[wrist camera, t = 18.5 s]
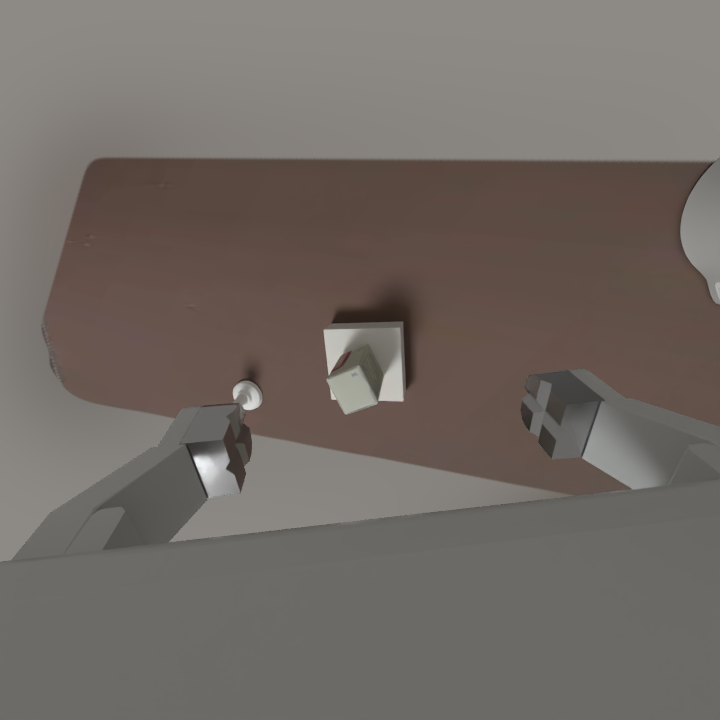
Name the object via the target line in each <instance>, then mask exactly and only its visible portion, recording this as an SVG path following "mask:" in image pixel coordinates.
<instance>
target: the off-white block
mask: <svg viewBox="0 0 720 720" xmlns="http://www.w3.org/2000/svg"><path fill="white" fill-rule="evenodd" d="M324 338H325V347H326V355H327V364H328V373H329V374H330V373H331V371H332V369H333V368H334V366H335V364H336V363H337V361H338V359H339V358H340V356H341V355H343V354H345V353H347V352H349V351H352V350H354V349H356V348H358V347H361V346H363V345H366V344H369V346H370V348H371V350H372V352H373V354H374V356H375V358H376V360H377V361H378V363H379V366H380V368H381V370H382V372H383V374H384V378H383V382H382V387H381V391H380V395H379V399H378V401H404V397H405V393H406V379H405V355H404V330H403V322H369V323H335V324H330V325H329V326H328V327H326V328H325V329H324ZM330 390H331V388H330ZM331 398H332V399H333V400H337V399H336V398H335V396H334V394H333V392H332V390H331Z"/></svg>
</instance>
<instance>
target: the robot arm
mask: <svg viewBox="0 0 720 720" xmlns="http://www.w3.org/2000/svg"><path fill="white" fill-rule="evenodd" d="M680 232H681V241H682V246H683V249H684V251H685V254H686V256H687V257H688V259H689V260H690V262H691V263H692V264H693V266H694V267H695V268H696V269H697V270H698V271H700V272H701V273H702V274H703V276H704V277H705V278H706V280H707V283H708V287H709V291H710V294H711V297H712V299H713V300H714V302H715V303H717V304H719V305H720V158H719V159H718V160H717V161H715V162H714V163H713V164H712V165H711V166H710V167H709V168H708V170H707V171H706V172H705V173H704V174H703V175H702V177H701V178H700V179H699V181H698V182H697V184H696V185H695V187H694V188H693V190H692V192H691V193H690V195H689V197H688V200H687V202H686V205H685V207H684V210H683V214H682V219H681V228H680ZM525 389H526V390H527V392H528V394H527V395H526V396H525V397H524V399H523V400H522V403H521V416H522V420H523V423H524V425H525V426H526V428H527V429H528V430H529V432H531V433H533V434H535V435H537V436H539V439H538V443H539V444H540V446H541V447H542V448H543V449H544V451H545V452H546V453H547V454H548V456H549V457H550V458H551V459H563V458H575V457H583V459H584V460H586V461H588V462H589V463H591V464H593V465H594V466H596V467H597V468H599V469H601V470H602V471H604V472H606V473H607V474H609V475H611V476H612V477H614V478H616V479H617V480H619V481H620V482H622V483H624V484H625V485H627V486H629V487H630V488H632V490H623V491H615V492H606V493H597V494H588V495H580V496H571V497H562V498H553V499H545V500H537V501H527V502H519V503H510V504H501V505H492V506H483V507H475V508H466V509H457V510H448V511H439V512H430V513H422V514H414V515H404V516H395V517H387V518H378V519H369V520H361V521H353V522H343V523H335V524H326V525H318V526H309V527H301V528H292V529H284V530H275V531H266V532H258V533H250V534H241V535H231V536H222V537H213V538H204V539H195V540H186V541H177V542H169V541H170V540H171V539H172V538H173V537H174V536H175V535H176V533H177V532H178V531H179V530H180V529H181V528H182V527H183V526H184V525H185V524H186V523H187V521H188V520H189V519H190V518H191V517H192V516H193V515H194V514H195V512H197V510H198V509H199V508H200V507H201V506H202V505H203V504H204V503H205V502H206V501H207V498H211V497H218V496H225V495H232V494H240V493H241V490H242V486H243V483H244V479H245V475H246V472H245V468H244V466H245V465H246V464H247V463H248V462H249V461H250V457H251V450H252V440H251V433H250V430H249V427H247V426H246V425H245V424H244V423H243V421H244V418H245V412H244V409H243V405H241V404H240V403H230V404H217V405H204V406H193V407H185V408H183V409H181V410H180V412H179V413H178V415H177V417H176V418H175V420H174V422H173V423H172V425H171V426H170V428H169V429H168V431H167V432H166V434H165V436H164V437H163V439H162V440H161V442H160V444H159V445H158V447H153V448H150V449H148V450H147V451H145V452H144V453H142V454H141V455H139V456H138V457H136V458H134V459H133V460H131V461H130V462H128V463H127V464H125V465H124V466H122V467H121V468H119V469H117V470H116V471H115V472H113V473H112V474H110V475H108V476H107V477H105V478H104V479H102V480H100V481H99V482H97V483H96V484H94V485H93V486H91V487H89V488H88V489H86V490H85V491H83V492H82V493H80V494H79V495H77V496H76V497H74V498H72V499H71V500H69V501H68V502H66V503H65V504H63V505H62V506H60V507H59V508H57V509H56V510H54V511H52V512H51V513H50V514H49V515H48V516H47V517H46V519H45V520H44V521H43V522H42V523H41V525H40V526H39V527H38V528H37V529H36V531H35V532H34V533H33V534H32V536H31V537H30V538H29V539H28V541H27V542H26V543H25V544H24V545H23V546H22V548H21V549H20V550H19V551H18V553H17V554H16V555H15V556H14V557H13V559H12V560H11V561H3V562H0V720H720V427H718V426H715V425H712V424H709V423H706V422H703V421H700V420H696V419H693V418H690V417H687V416H684V415H681V414H678V413H675V412H672V411H669V410H666V409H663V408H660V407H657V406H654V405H651V404H648V403H644V402H641V401H638V400H635V399H632V398H630V399H626V398H624V397H623V396H622V395H620V394H619V393H618V392H616V391H615V390H614V389H612V388H611V387H610V386H608V385H607V384H605V383H604V382H603V381H601V380H600V379H599V378H597V377H596V376H595V375H593V374H592V373H591V372H589V371H588V370H586V369H582V368H579V369H572V370H564V371H558V372H549V373H541V374H532V375H529V376H528V378H527V379H526V383H525ZM168 542H169V543H168Z"/></svg>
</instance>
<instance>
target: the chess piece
mask: <svg viewBox="0 0 720 720" xmlns="http://www.w3.org/2000/svg"><path fill="white" fill-rule="evenodd" d="M233 397H234V401H233V402H232V403H240V404H241V405H243V409H246V410H253V409H255V408H257V407H258V406H260V404H261V403H262V398H263V397H262V392H261V390H260V389H259V387H258V386H257V385H256V384H254V383H253V382H250V381H241V382H239V383H238V384H237V385H236V386H235V387H234V389H233Z"/></svg>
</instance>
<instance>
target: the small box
mask: <svg viewBox="0 0 720 720" xmlns="http://www.w3.org/2000/svg"><path fill="white" fill-rule="evenodd" d="M383 378H384V374H383V372H382V370H381V368H380V366H379V363H378V361H377V360H376V358H375V356H374V354H373V352H372V350H371V348H370V346H369V344H366V345H363V346H361V347H358V348H356V349H354V350H352V351H349V352H347V353H345V354H343V355H341V356H340V358H339V359H338V361H337V363H336V364H335V366H334V368H333V369H332V371H331V373H330V374H329V376H328V378H327V382H328V384H329V386H330V388H331V390H332V392H333V394H334V396H335V398H336V399H337V401H338V403H339V405H340V406H341V408H342V410H343V412H344V413H345V415H347V414H350V413H353V412H356V411H359V410H362V409H365V408H368V407H370V406H373V405H376V404H377V403H378V399H379V395H380V391H381V387H382V382H383Z"/></svg>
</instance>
